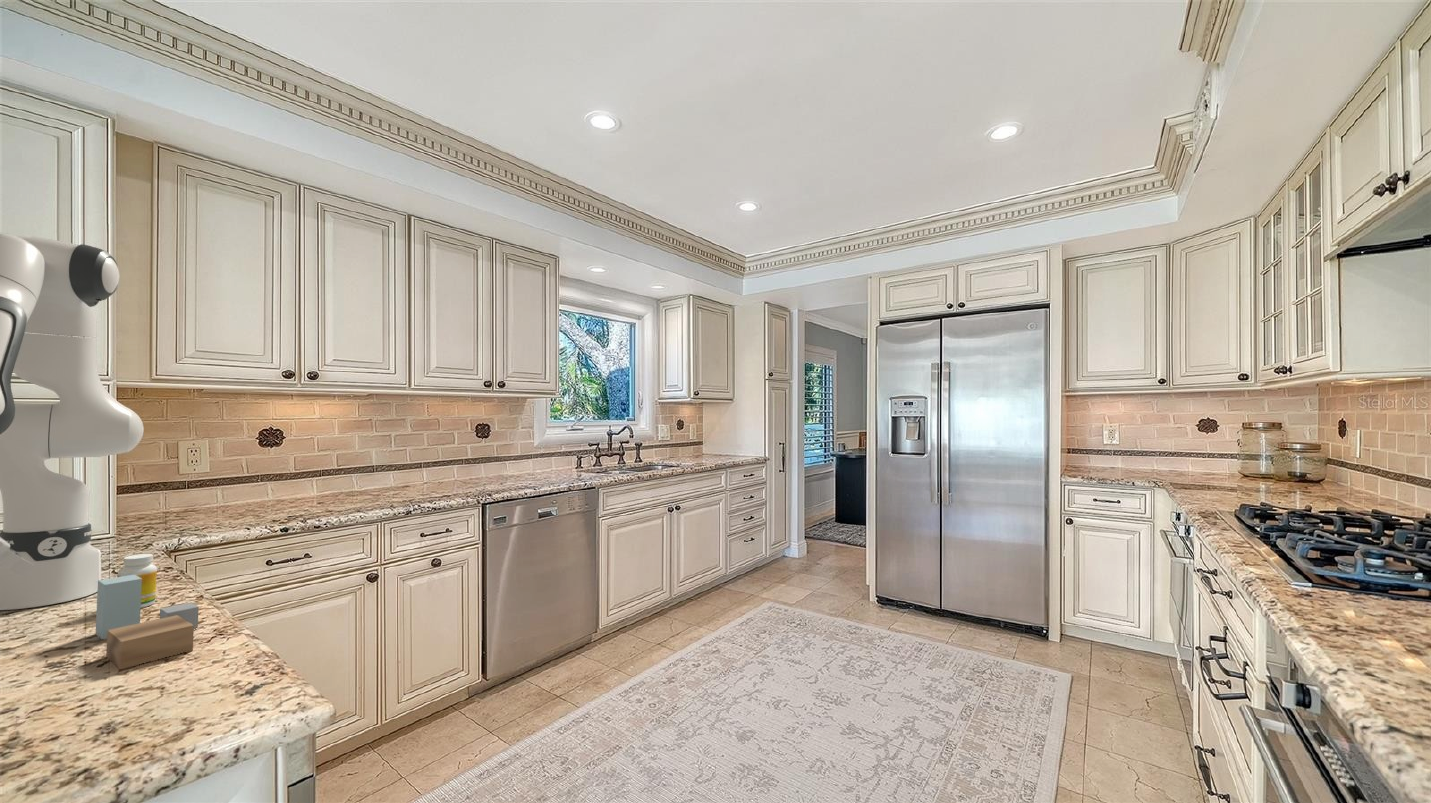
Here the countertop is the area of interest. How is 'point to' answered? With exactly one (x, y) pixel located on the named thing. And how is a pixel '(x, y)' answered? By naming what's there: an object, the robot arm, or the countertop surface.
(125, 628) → the plinth
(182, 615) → the block
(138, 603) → the pillar
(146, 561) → the supplement bottle
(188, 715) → the countertop surface
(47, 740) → the countertop surface
